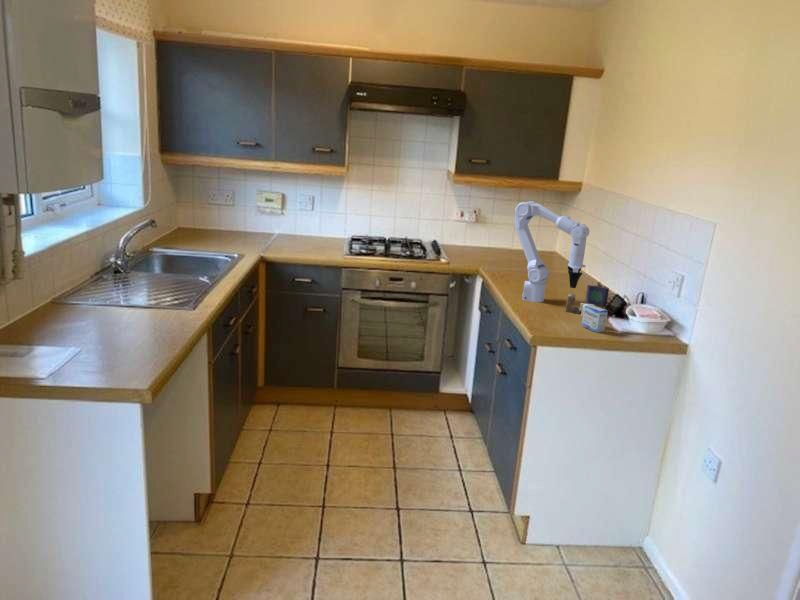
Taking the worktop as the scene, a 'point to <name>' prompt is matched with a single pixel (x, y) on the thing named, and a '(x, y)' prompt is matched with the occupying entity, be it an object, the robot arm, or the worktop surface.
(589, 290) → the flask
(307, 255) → the worktop surface
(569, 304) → the kicker
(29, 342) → the worktop surface
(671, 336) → the worktop surface
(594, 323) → the medicine box
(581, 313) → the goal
